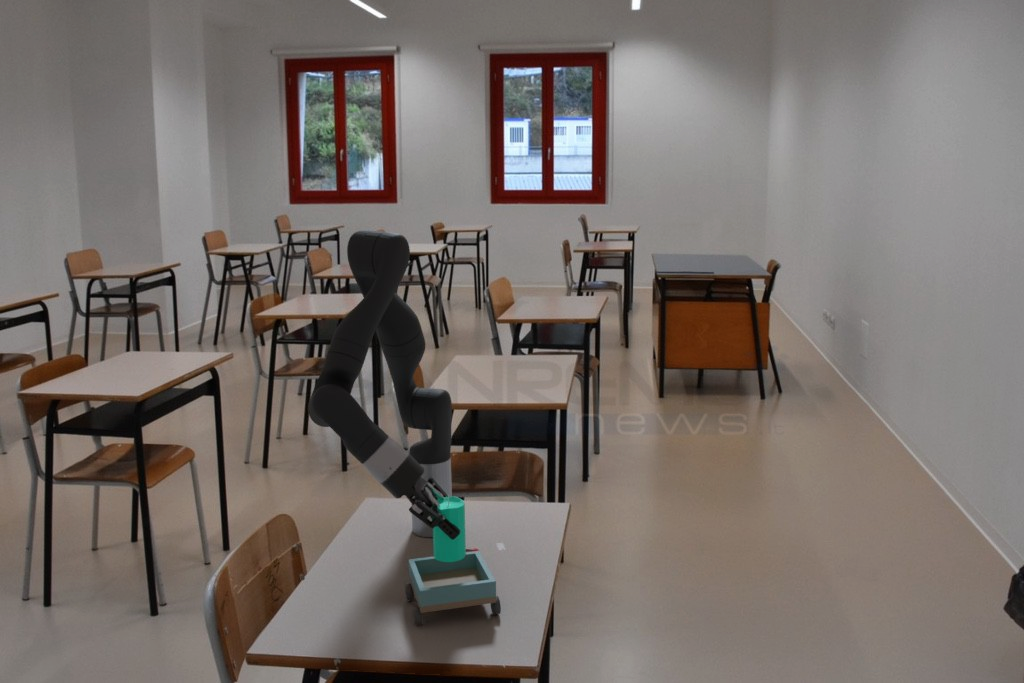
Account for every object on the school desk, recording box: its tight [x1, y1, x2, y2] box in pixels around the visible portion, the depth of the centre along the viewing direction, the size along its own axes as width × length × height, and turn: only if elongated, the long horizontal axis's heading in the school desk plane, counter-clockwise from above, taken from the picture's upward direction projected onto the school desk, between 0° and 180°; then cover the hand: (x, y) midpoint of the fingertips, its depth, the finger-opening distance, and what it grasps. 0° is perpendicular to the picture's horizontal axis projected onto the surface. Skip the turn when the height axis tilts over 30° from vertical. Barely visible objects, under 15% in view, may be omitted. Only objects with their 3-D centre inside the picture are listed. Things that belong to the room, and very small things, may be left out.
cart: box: [404, 550, 502, 626], centre depth 178 cm, size 14×16×7 cm
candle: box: [432, 495, 466, 562], centre depth 176 cm, size 6×6×12 cm
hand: (458, 529), depth 176 cm, fingers closed on candle, 4 cm apart
